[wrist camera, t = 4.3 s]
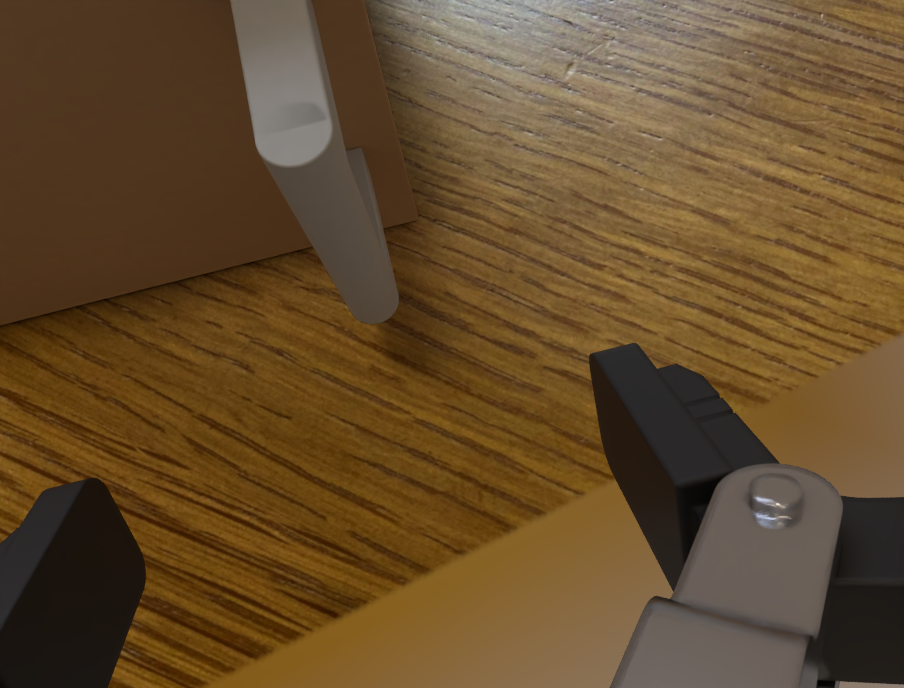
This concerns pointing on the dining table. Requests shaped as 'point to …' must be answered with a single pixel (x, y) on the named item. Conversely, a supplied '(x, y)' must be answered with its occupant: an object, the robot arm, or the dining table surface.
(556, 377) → the dining table surface
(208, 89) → the cupboard door
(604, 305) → the dining table surface
